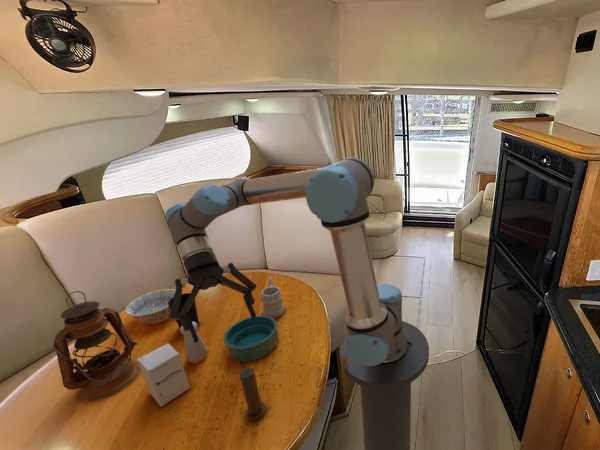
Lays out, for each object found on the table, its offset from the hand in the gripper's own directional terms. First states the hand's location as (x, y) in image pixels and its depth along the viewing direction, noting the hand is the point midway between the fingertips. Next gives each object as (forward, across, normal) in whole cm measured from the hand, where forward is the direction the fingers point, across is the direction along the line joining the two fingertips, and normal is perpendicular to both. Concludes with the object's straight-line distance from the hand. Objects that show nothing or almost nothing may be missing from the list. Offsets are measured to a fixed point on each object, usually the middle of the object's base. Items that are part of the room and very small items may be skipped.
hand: (226, 328), depth 80 cm
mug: (-6, -21, -35) cm, 41 cm away
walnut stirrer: (+22, 0, -7) cm, 23 cm away
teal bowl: (+4, -9, -25) cm, 27 cm away
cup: (-13, +5, -43) cm, 45 cm away
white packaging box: (+6, +15, -24) cm, 28 cm away
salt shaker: (0, +6, -30) cm, 30 cm away
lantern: (-5, +27, -35) cm, 45 cm away
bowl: (-23, +12, -53) cm, 59 cm away
